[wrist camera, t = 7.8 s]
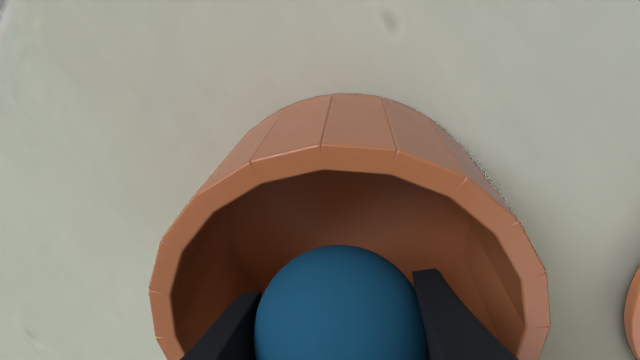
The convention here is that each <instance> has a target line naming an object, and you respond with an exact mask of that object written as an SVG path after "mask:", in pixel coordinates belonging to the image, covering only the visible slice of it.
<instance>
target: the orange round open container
mask: <svg viewBox="0 0 640 360" xmlns="http://www.w3.org/2000/svg"><path fill="white" fill-rule="evenodd" d="M330 245H349V246H356V247H360V248H364V249H367V250H370V251H372V252H375V253H376V254H378V255H380V256H382V257H384V258H385V259H387V260H388V261H390V262H391V263H393V264H394V265H395V266H396V267H397V268H398V269H399V270H400V271H401V272H402V273H403V274H404V275H405V276H406V277H407V279H408V280H409V281H410V282H411V284H412V285H413V287H414V282H413V276H412V271H419V270H426V269H434V268H436V269H437V270H438V271H440V272H441V274H442V276H443V277H444V279H445V280H446V282H447V283H448V284H449V286H450V287H451V288H452V290H453V291H454V292H455V293H456V295H457V296H458V297H459V298H460V300H461V301H462V302H463V303H464V304H465V306H466V307H467V308H468V309H469V310H470V311H471V312H472V313H473V314H474V316H475V317H476V318H477V319H478V320H479V321H480V322H481V323H482V324H483V325H484V326H485V327H486V328H487V330H488V331H489V332H490V333H491V334H492V335H493V336H494V337H495V338H497V339H498V340H499V341H500V342H501V343H502V344H503V345H504V346H505V347H506V348H507V349H508V350H509V351H510V352H511V353H512V354H513V355H514V356H516V357H517V358H518V359H519V360H539V357H540V354H541V352H542V349H543V346H544V343H545V340H546V337H547V335H548V332H549V329H550V326H549V325H550V312H549V298H548V285H547V274H546V272H545V268H544V266H543V264H542V262H541V260H540V258H539V257H538V255H537V253H536V251H535V249H534V247H533V245H532V243H531V242H530V240H529V238H528V236H527V234H526V232H525V230H524V229H523V227H522V225H521V223H520V221H519V220H518V219H517V217H516V216H515V215H514V213H513V212H512V211H511V210H510V208H509V207H508V206H507V204H506V203H505V202H504V201H503V199H502V198H501V197H500V195H499V194H498V193H497V191H496V190H495V189H494V188H493V186H492V185H491V184H490V182H489V181H488V180H487V179H486V177H485V176H484V175H483V173H482V172H481V171H480V170H479V168H478V167H477V166H476V164H475V163H474V162H473V161H472V159H471V158H470V157H469V155H468V154H467V153H466V151H465V150H464V149H463V148H462V146H461V145H460V144H459V143H458V142H457V141H455V140H454V139H453V138H452V137H451V136H450V135H449V134H448V133H447V132H446V131H445V130H444V129H443V128H441V127H440V126H439V125H438V124H436V123H435V122H434V121H433V120H431V119H430V118H429V117H427V116H425V115H424V114H422V113H420V112H418V111H417V110H415V109H413V108H411V107H408V106H406V105H403V104H401V103H399V102H396V101H393V100H389V99H385V98H382V97H378V96H371V95H364V94H331V95H324V96H317V97H313V98H310V99H306V100H302V101H299V102H297V103H294V104H292V105H290V106H287V107H285V108H282V109H281V110H279V111H277V112H276V113H274V114H272V115H271V116H269V117H267V118H266V119H265V120H263V121H262V122H261V123H260V124H258V125H257V126H256V127H254V128H253V129H251V130H250V131H249V132H248V133H247V134H246V135H245V136H244V137H243V138H242V140H241V141H240V142H239V143H238V144H237V145H236V147H235V148H234V149H233V150H232V151H231V152H230V154H229V155H228V156H227V157H226V158H225V160H224V161H223V162H222V163H221V164H220V165H219V167H218V168H217V169H216V170H215V171H214V173H213V174H212V175H211V176H210V177H209V178H208V180H207V181H206V182H205V183H204V184H203V186H202V187H201V188H200V189H199V190H198V191H197V193H196V194H195V195H194V196H193V197H192V199H191V200H190V201H189V203H188V204H187V205H186V207H185V208H184V209H183V211H182V212H181V213H180V215H179V216H178V217H177V219H176V220H175V221H174V223H173V224H172V225H171V227H170V228H169V229H168V231H167V232H166V233H165V235H164V236H163V238H162V240H161V242H160V245H159V249H158V253H157V257H156V261H155V265H154V269H153V273H152V277H151V281H150V285H149V289H150V290H149V296H150V303H151V310H152V317H153V323H154V330H155V336H156V340H157V341H158V343H159V345H160V347H161V349H162V351H163V353H164V354H165V356H166V358H167V360H180V359H181V358H182V357H183V356H184V355H185V354H186V353H187V352H188V351H189V350H190V349H191V348H192V347H193V345H194V344H195V343H196V342H197V341H198V340H199V339H200V338H201V337H202V335H203V334H204V333H205V332H206V331H207V330H208V329H209V328H210V327H211V325H212V324H213V323H214V322H215V321H216V320H217V319H218V318H219V316H220V315H221V314H222V313H223V312H224V311H225V310H226V308H227V307H228V306H229V305H230V304H231V303H232V302H233V301H234V300H235V299H236V297H237V296H238V295H239V294H244V293H251V292H259V291H260V292H261V295H262V296H263V294H264V291H265V290H266V288H267V287H268V285H269V283H270V282H271V280H272V279H273V278H274V276H275V275H276V274H277V273H278V272H279V271H280V270H281V269H282V268H283V267H284V266H285V265H286V264H288V263H289V262H290V261H291V260H293V259H294V258H296V257H297V256H299V255H301V254H303V253H305V252H308V251H310V250H313V249H316V248H319V247H324V246H330Z"/></svg>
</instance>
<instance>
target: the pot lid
mask: <svg viewBox="0 0 640 360" xmlns="http://www.w3.org/2000/svg"><path fill="white" fill-rule="evenodd" d="M624 326H625V331H626V336H627V341H628V343H629V345H630V348H631V350H632V353H633V354H634V356H635V357H636V359H637V360H640V266H639V268H638V270H637V272H636V274H635V276H634V278H633V280H632V282H631V285H630V288H629V291H628V294H627V298H626V304H625V310H624Z"/></svg>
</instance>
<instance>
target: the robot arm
mask: <svg viewBox="0 0 640 360" xmlns="http://www.w3.org/2000/svg"><path fill="white" fill-rule="evenodd" d="M412 276H413V282H414V289H415V291H416V295H417V299H418V304H419V308H420V312H421V316H422V320H423V324H424V329H425V333H426V339H427V345H428V359H427V360H519V359H518V358H517V357H516V356H514V355H513V354H512V353H511V352H510V351H509V350H508V349H507V348H506V347H505V346H504V345H503V344H502V343H501V342H500V341H499V340H498V339H497V338H495V337H494V336H493V335H492V334H491V333H490V332H489V331H488V330H487V328H486V327H485V326H484V325H483V324H482V323H481V322H480V321H479V320H478V319H477V318H476V317H475V316H474V314H473V313H472V312H471V311H470V310H469V309H468V308H467V307H466V306H465V304H464V303H463V302H462V301H461V300H460V298H459V297H458V296H457V295H456V293H455V292H454V291H453V290H452V288H451V287H450V286H449V284H448V283H447V282H446V280H445V279H444V277H443V276H442V274H441V272H440V271H438V270H437V269H436V268H434V269H426V270H419V271H412ZM261 298H262V295H261V292H260V291H259V292H251V293H244V294H239V295H238V296H237V297H236V299H235V300H234V301H233V302H232V303H231V304H230V305H229V306H228V307H227V308H226V310H225V311H224V312H223V313H222V314H221V315H220V316H219V318H218V319H217V320H216V321H215V322H214V323H213V324H212V325H211V327H210V328H209V329H208V330H207V331H206V332H205V333H204V334H203V335H202V337H201V338H200V339H199V340H198V341H197V342H196V343H195V344H194V345H193V347H192V348H191V349H190V350H189V351H188V352H187V353H186V354H185V355H184V356H183V357H182V358H181V359H180V360H256V358H255V351H254V343H253V336H254V322H255V317H256V313H257V309H258V306H259V303H260V301H261Z"/></svg>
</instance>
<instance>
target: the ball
mask: <svg viewBox="0 0 640 360" xmlns="http://www.w3.org/2000/svg"><path fill="white" fill-rule="evenodd" d="M253 343H254V351H255V358H256V360H427V359H428V345H427V339H426V333H425V329H424V324H423V320H422V316H421V312H420V308H419V304H418V299H417V295H416V291H415V289H414V287H413V285H412V284H411V282H410V281H409V280H408V279H407V277H406V276H405V275H404V274H403V273H402V272H401V271H400V270H399V269H398V268H397V267H396V266H395V265H394V264H393V263H391V262H390V261H388V260H387V259H385V258H384V257H382V256H380V255H378V254H376V253H375V252H372V251H370V250H367V249H364V248H360V247H356V246H349V245H330V246H324V247H319V248H316V249H313V250H310V251H308V252H305V253H303V254H301V255H299V256H297V257H296V258H294V259H293V260H291V261H290V262H289V263H288V264H286V265H285V266H284V267H283V268H282V269H281V270H280V271H279V272H278V273H277V274H276V275H275V276H274V278H273V279H272V280H271V282H270V283H269V285H268V287H267V288H266V290H265V291H264V294H263V296H262V298H261V301H260V303H259V306H258V309H257V313H256V317H255V322H254V336H253Z"/></svg>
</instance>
